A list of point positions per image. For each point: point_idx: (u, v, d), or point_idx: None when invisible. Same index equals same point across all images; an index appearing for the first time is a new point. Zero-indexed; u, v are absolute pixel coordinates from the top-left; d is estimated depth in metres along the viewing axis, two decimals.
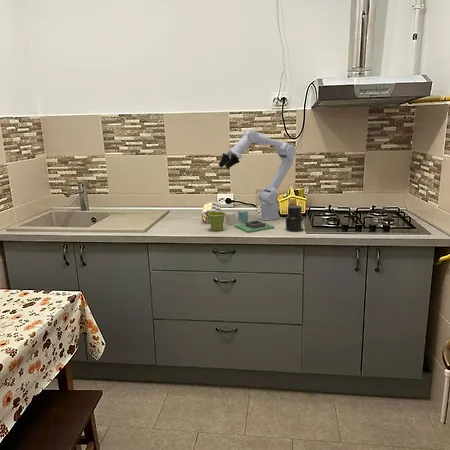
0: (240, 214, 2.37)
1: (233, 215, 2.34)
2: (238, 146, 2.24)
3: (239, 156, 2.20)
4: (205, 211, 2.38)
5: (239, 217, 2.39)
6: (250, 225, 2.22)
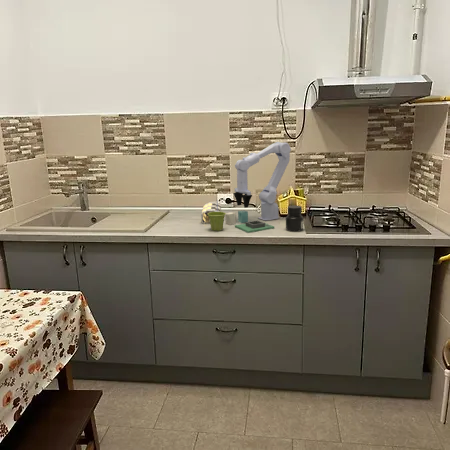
0: (240, 214, 2.37)
1: (233, 215, 2.34)
2: (240, 183, 2.32)
3: (249, 193, 2.29)
4: (204, 211, 2.38)
5: (239, 217, 2.39)
6: (250, 225, 2.22)
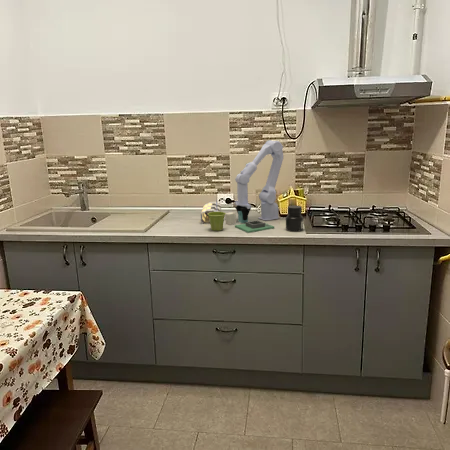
0: (240, 214, 2.37)
1: (233, 215, 2.34)
2: (241, 197, 2.34)
3: (249, 207, 2.31)
4: (204, 211, 2.39)
5: (239, 217, 2.39)
6: (250, 225, 2.22)
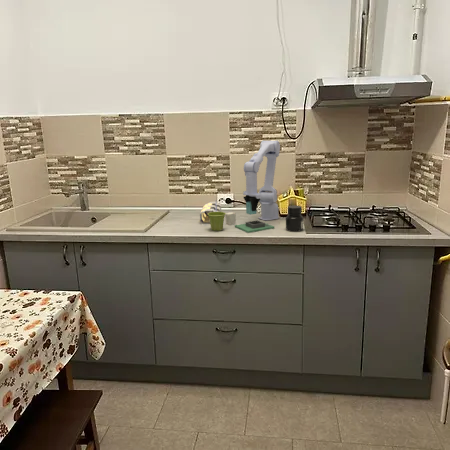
0: (248, 205, 2.24)
1: (233, 215, 2.34)
2: (250, 186, 2.21)
3: (258, 197, 2.18)
4: (203, 211, 2.39)
5: (247, 208, 2.25)
6: (250, 225, 2.22)
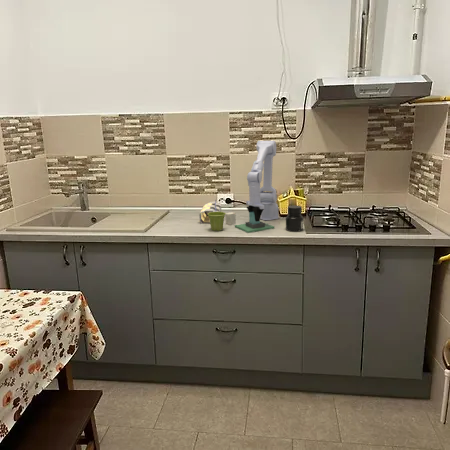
0: (251, 215, 2.21)
1: (233, 215, 2.34)
2: (253, 196, 2.18)
3: (262, 207, 2.16)
4: (203, 211, 2.39)
5: (250, 218, 2.23)
6: (250, 225, 2.22)
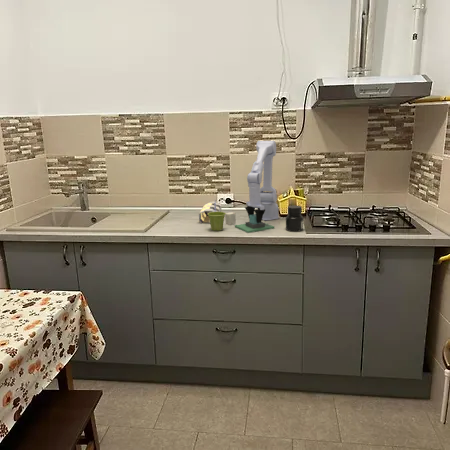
0: (252, 218, 2.22)
1: (233, 215, 2.34)
2: (253, 197, 2.18)
3: (262, 208, 2.16)
4: (202, 211, 2.39)
5: (250, 221, 2.24)
6: (250, 225, 2.22)
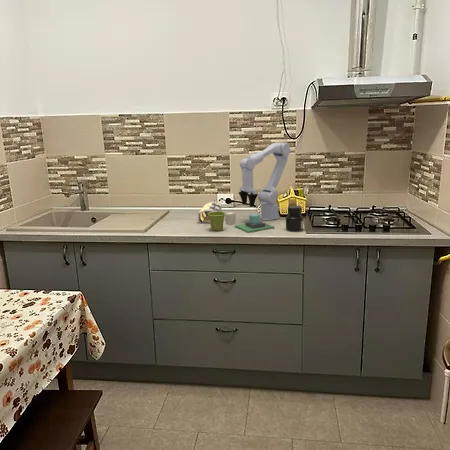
0: (252, 218, 2.22)
1: (233, 215, 2.34)
2: (246, 182, 2.28)
3: (254, 192, 2.26)
4: (202, 211, 2.39)
5: (250, 221, 2.24)
6: (250, 225, 2.22)
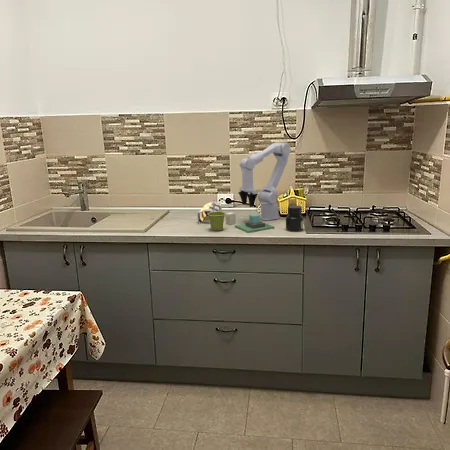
0: (252, 218, 2.22)
1: (233, 215, 2.34)
2: (246, 182, 2.29)
3: (254, 192, 2.26)
4: (201, 211, 2.39)
5: (250, 221, 2.24)
6: (250, 225, 2.22)
